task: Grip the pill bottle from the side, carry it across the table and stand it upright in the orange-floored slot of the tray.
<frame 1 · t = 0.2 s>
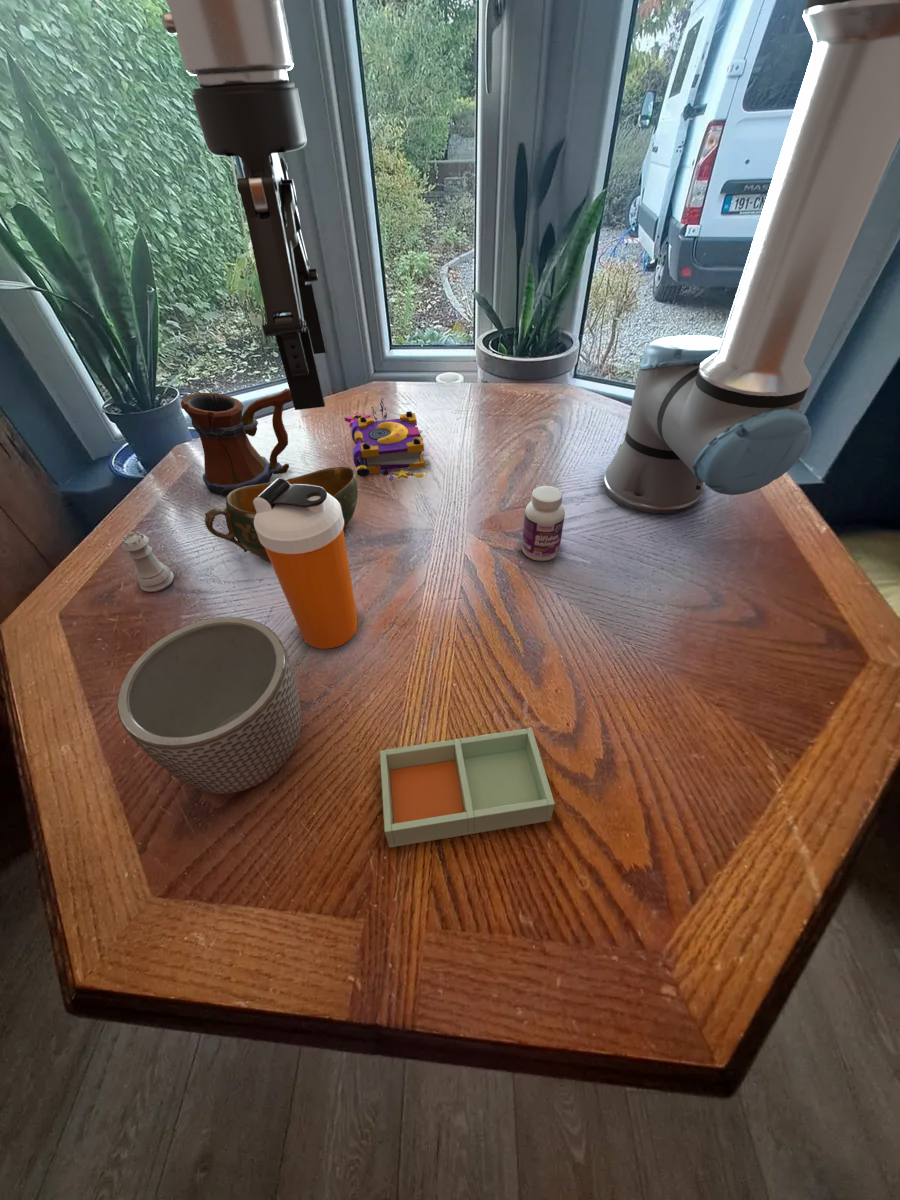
hand: (312, 377, 52), 28 cm above the table, tool pointing down, fingers open, 13 cm apart
tray: (463, 793, 50), on the table
pill bottle: (540, 551, 75), on the table
planter: (249, 752, 54), on the table
creamer: (298, 541, 79), on the table
book: (387, 454, 97), on the table
mug: (259, 478, 92), on the table
rook chess piece: (158, 583, 73), on the table
shaker bottle: (330, 629, 66), on the table
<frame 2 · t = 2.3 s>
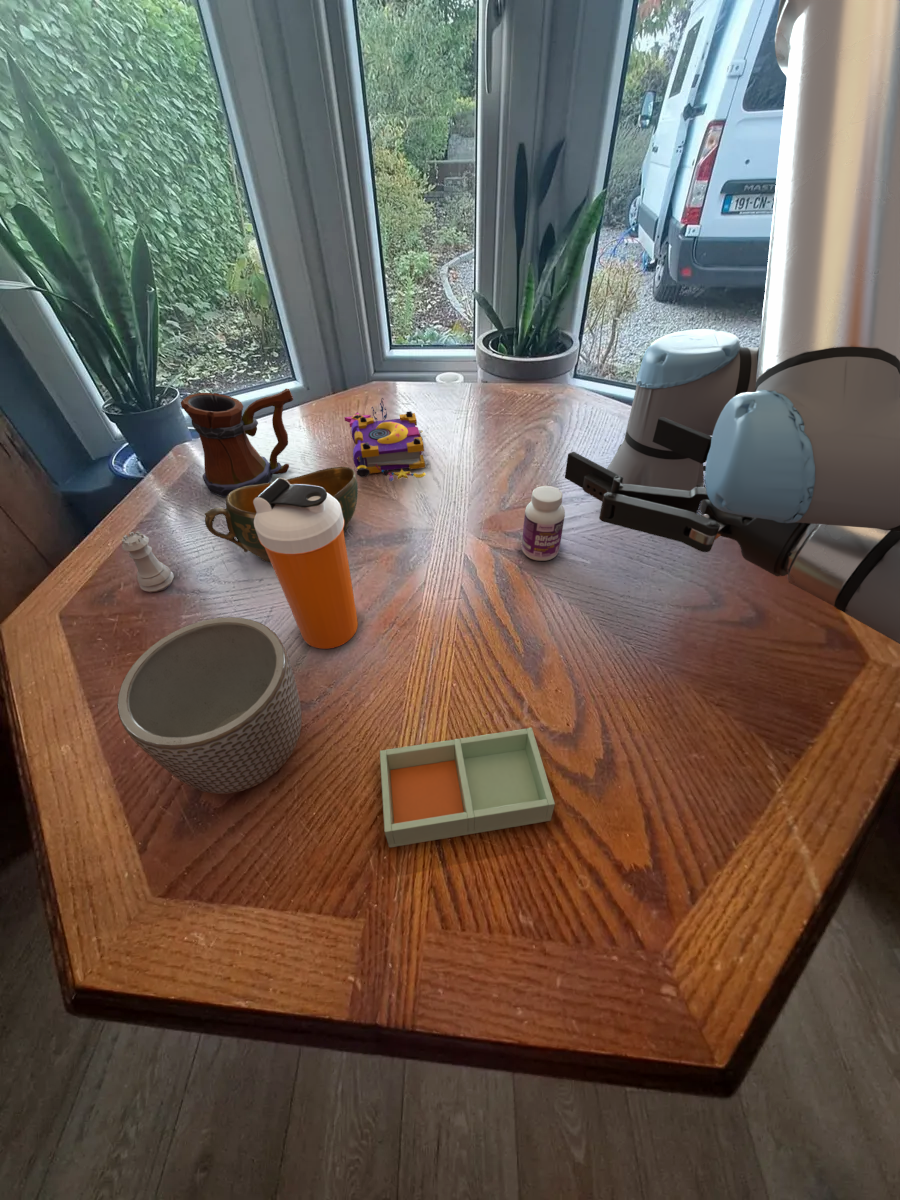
hand: (615, 446, 56), 20 cm above the table, tool horizontal, fingers open, 13 cm apart
nothing on the table moved.
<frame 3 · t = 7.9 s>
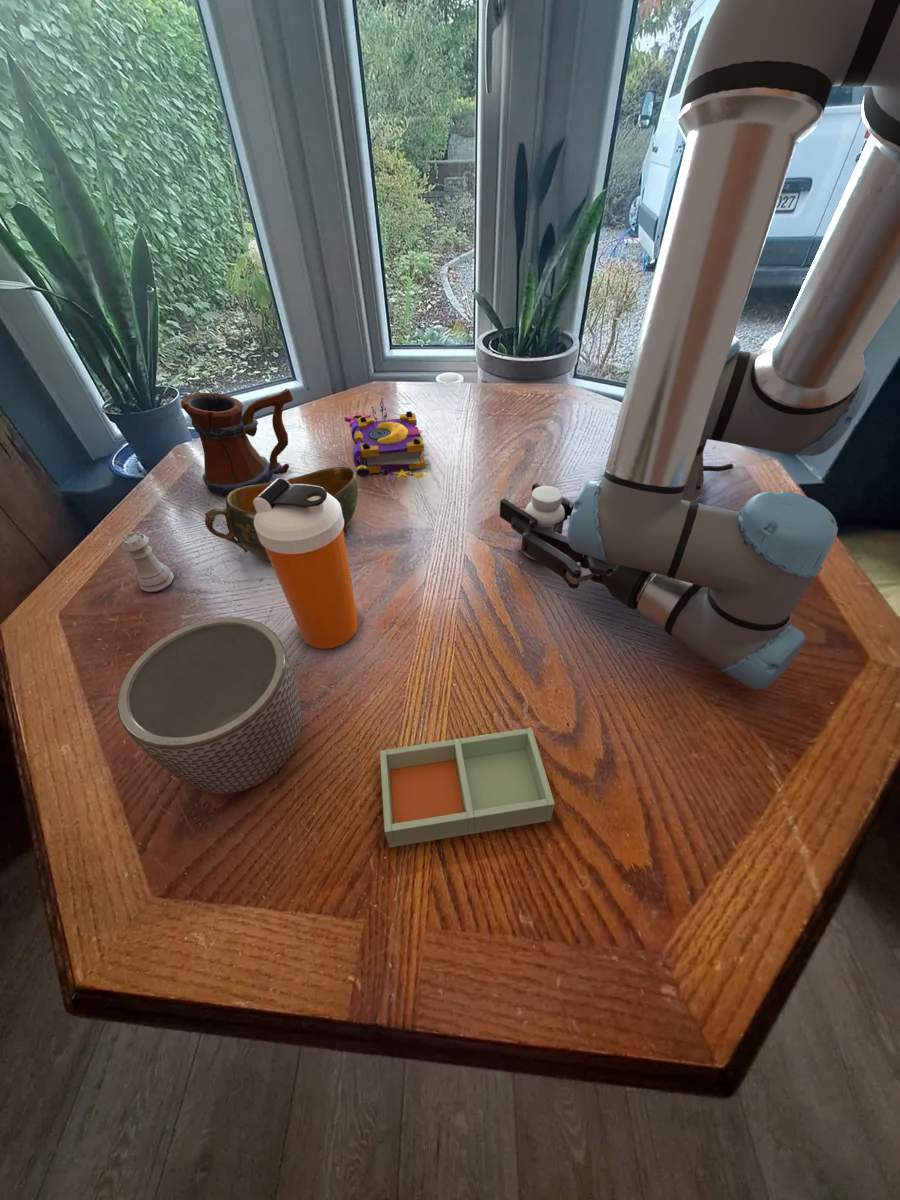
hand: (518, 499, 74), 6 cm above the table, tool horizontal, fingers closed on pill bottle, 5 cm apart
pill bottle: (540, 551, 75), on the table, touching gripper
everything else where it was.
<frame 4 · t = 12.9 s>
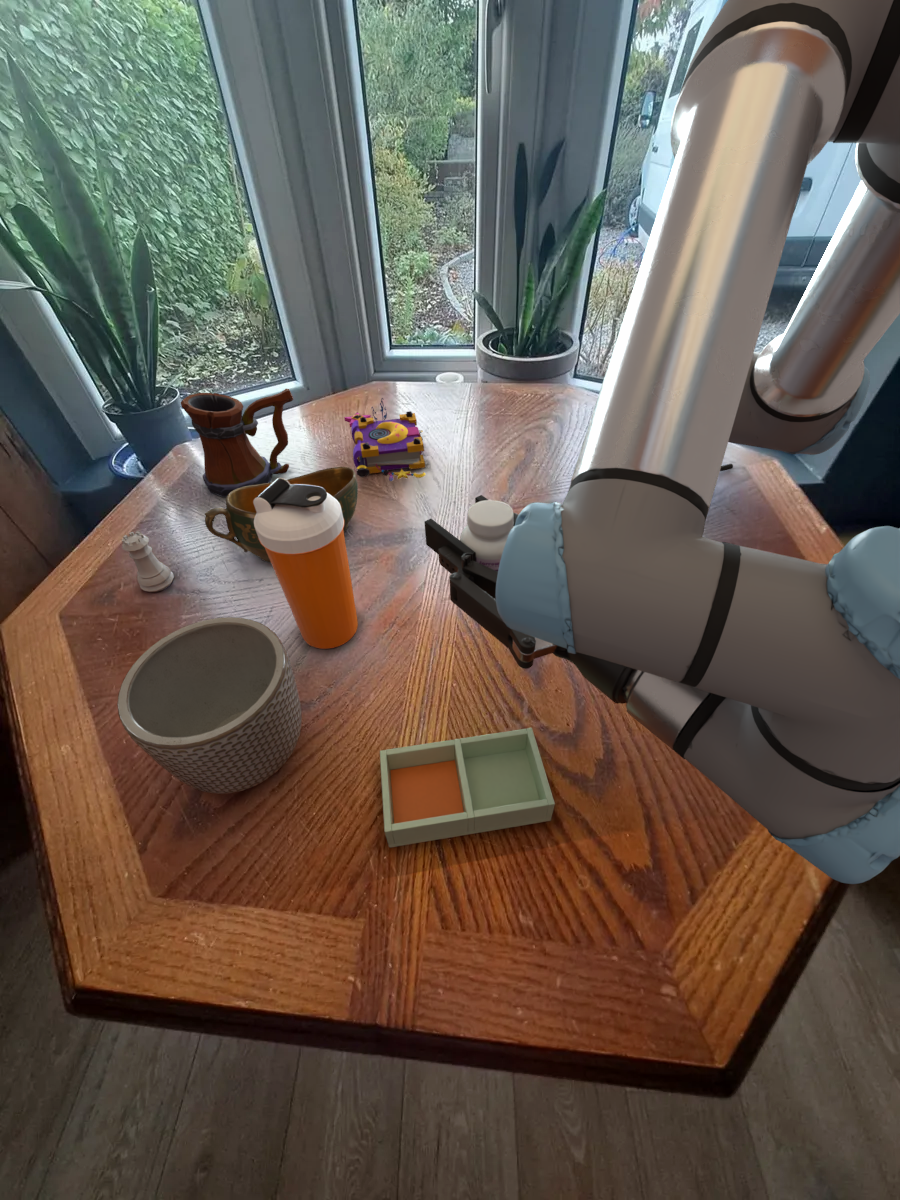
hand: (454, 519, 50), 18 cm above the table, tool horizontal, fingers closed on pill bottle, 5 cm apart
pill bottle: (488, 594, 52), point 12 cm above the table, touching gripper
everything else where it was.
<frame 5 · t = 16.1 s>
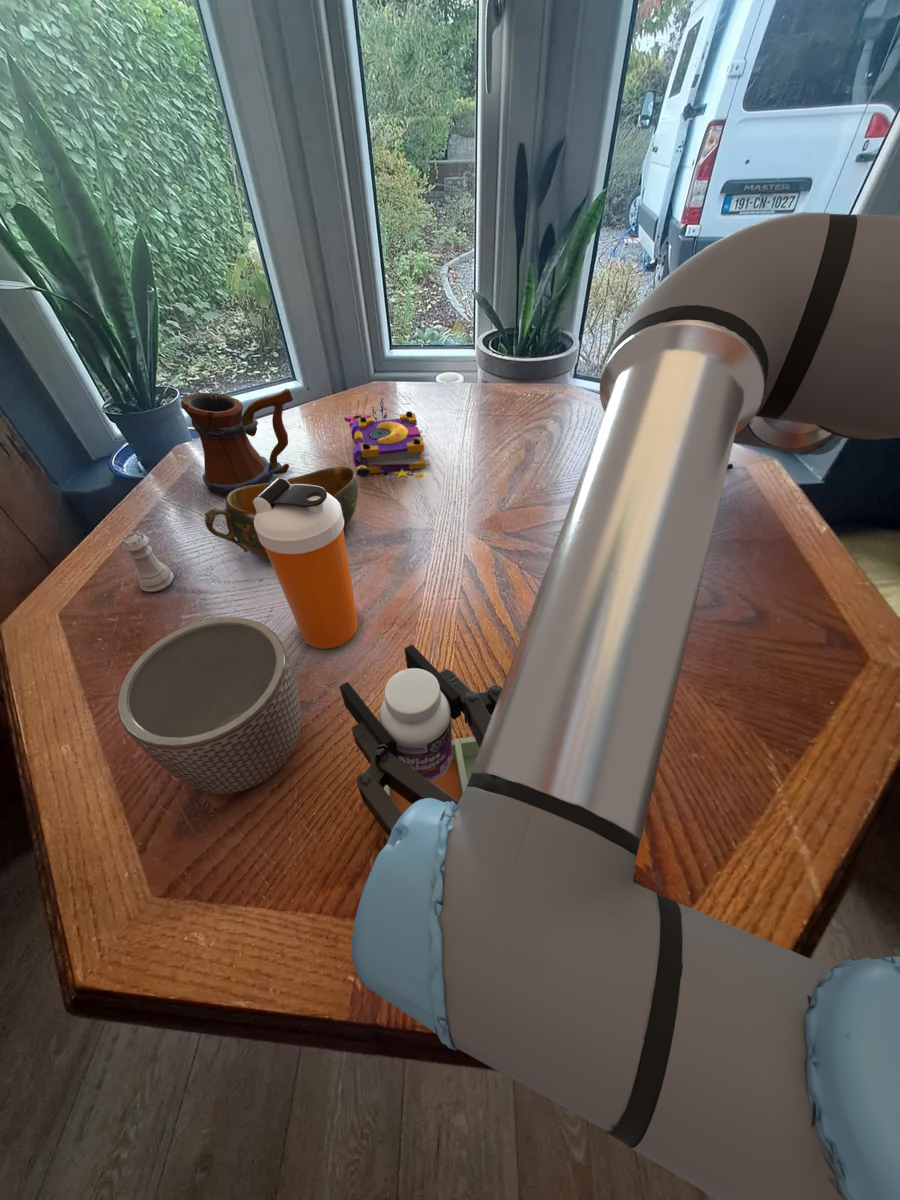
hand: (379, 675, 42), 14 cm above the table, tool horizontal, fingers closed on pill bottle, 5 cm apart
pill bottle: (421, 758, 44), point 8 cm above the table, touching gripper
everything else where it was.
when the fingers open (7 cm above the table, at t = 18.4 s): pill bottle stays where it is, resting on tray.
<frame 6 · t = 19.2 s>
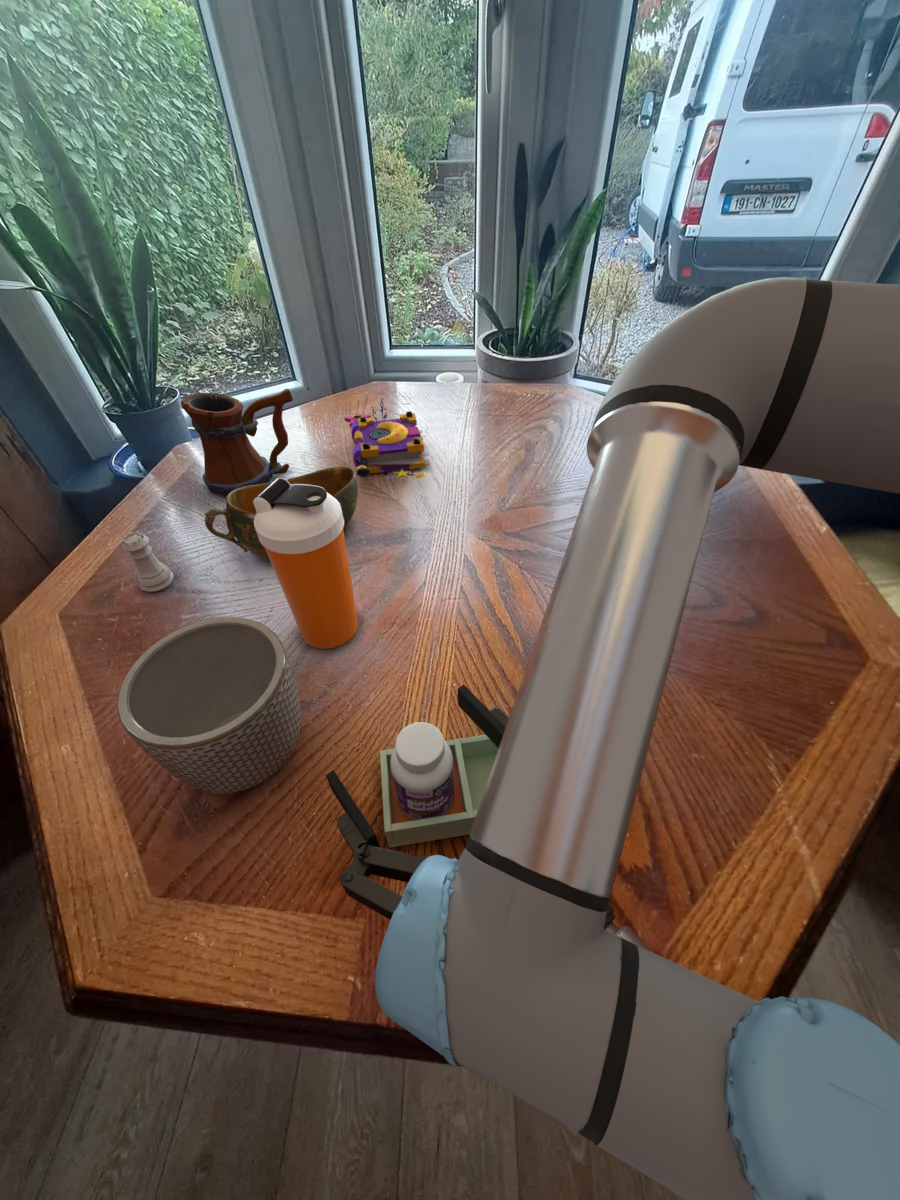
hand: (400, 734, 46), 7 cm above the table, tool horizontal, fingers open, 13 cm apart
pill bottle: (426, 797, 49), point 1 cm above the table, touching tray
everything else where it was.
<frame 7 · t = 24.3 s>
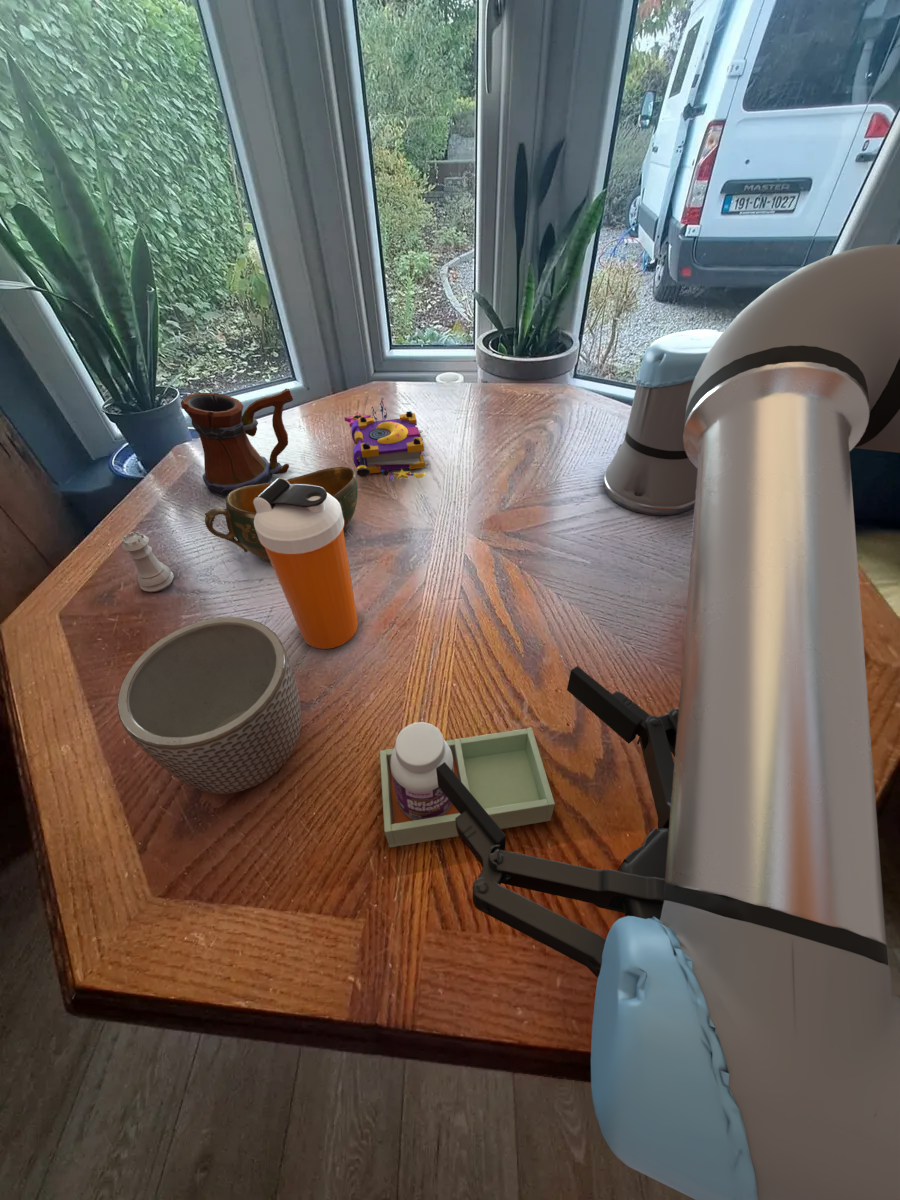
hand: (510, 722, 40), 13 cm above the table, tool horizontal, fingers open, 13 cm apart
nothing on the table moved.
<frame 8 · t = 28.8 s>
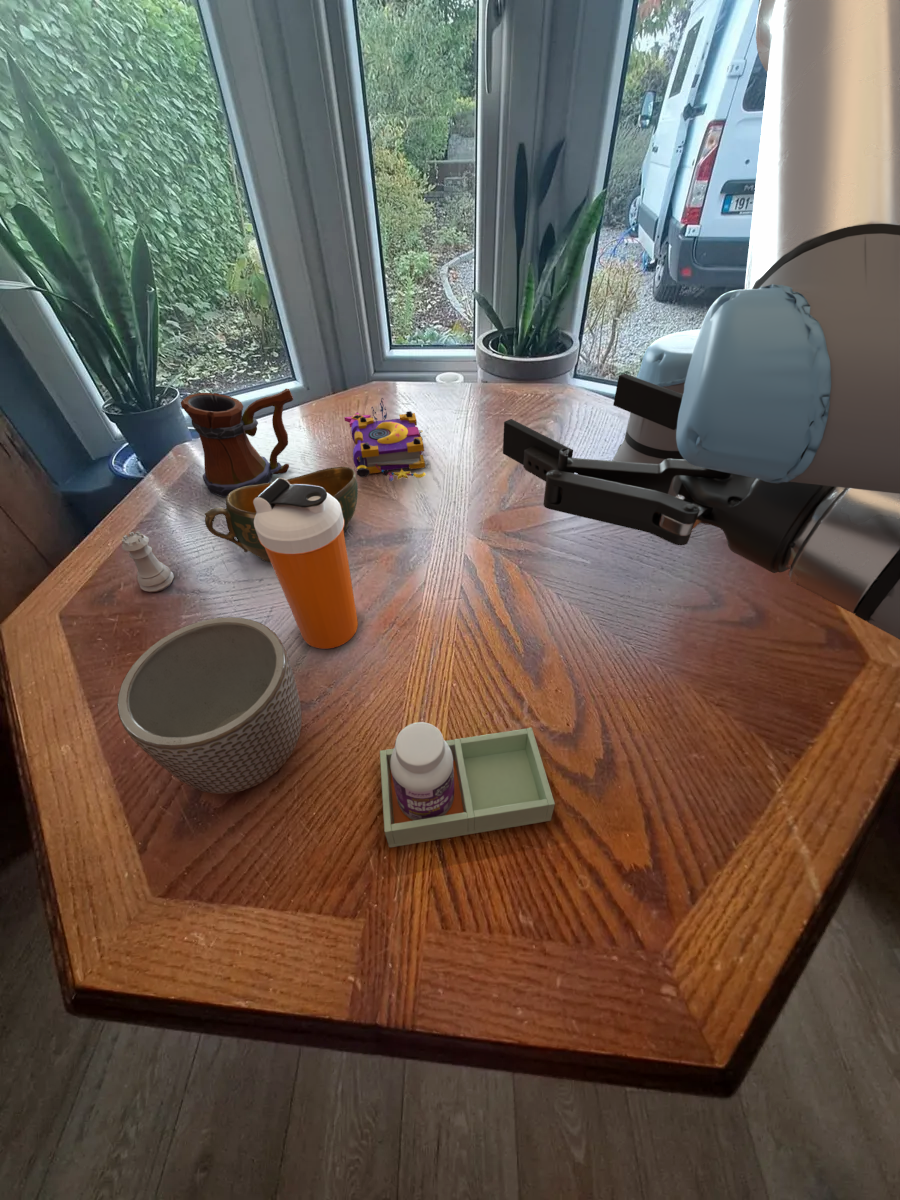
hand: (565, 411, 44), 28 cm above the table, tool horizontal, fingers open, 13 cm apart
nothing on the table moved.
at the end: pill bottle 0.1 cm from the target spot in the tray, point 0.5 cm above the tray's base; pill bottle tilted 0°; the gripper is holding nothing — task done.
